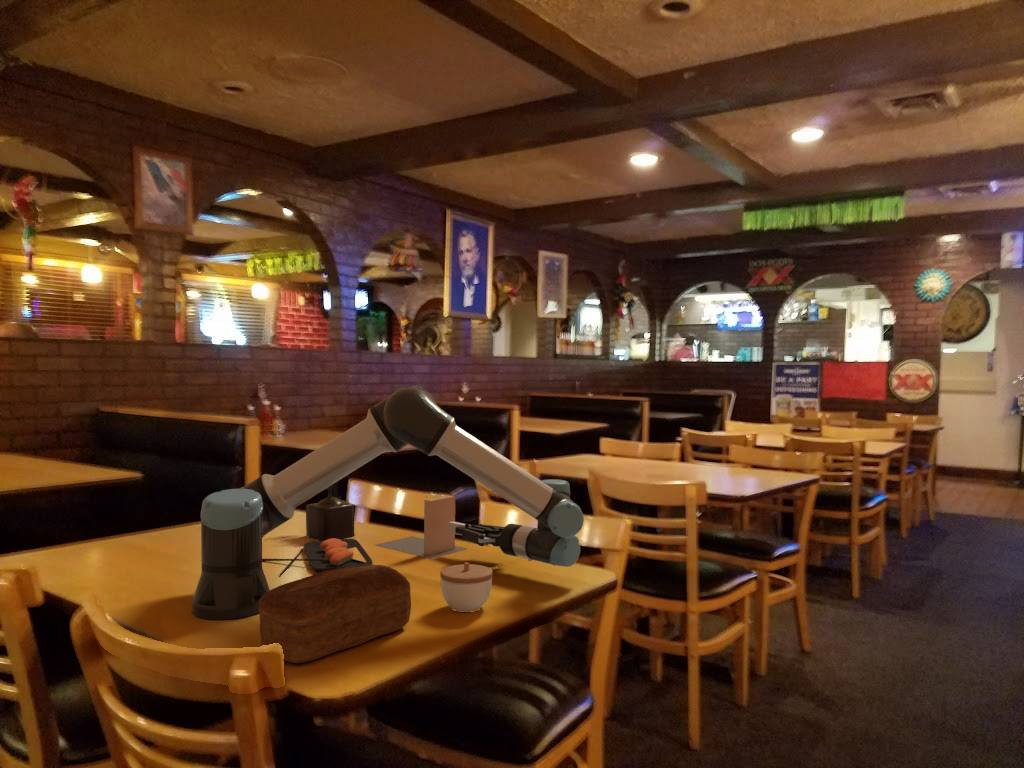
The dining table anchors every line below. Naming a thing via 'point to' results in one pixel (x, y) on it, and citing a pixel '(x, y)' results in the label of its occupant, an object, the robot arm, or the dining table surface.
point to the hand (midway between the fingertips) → (450, 526)
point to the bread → (334, 610)
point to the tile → (438, 524)
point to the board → (415, 547)
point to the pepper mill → (330, 518)
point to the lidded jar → (466, 586)
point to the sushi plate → (330, 554)
